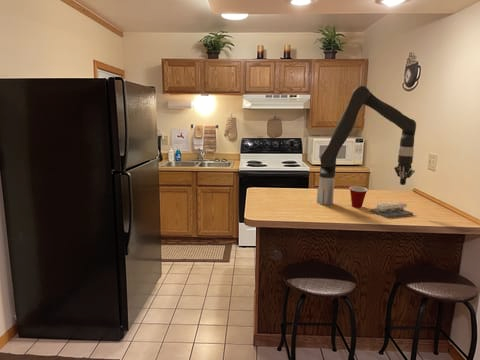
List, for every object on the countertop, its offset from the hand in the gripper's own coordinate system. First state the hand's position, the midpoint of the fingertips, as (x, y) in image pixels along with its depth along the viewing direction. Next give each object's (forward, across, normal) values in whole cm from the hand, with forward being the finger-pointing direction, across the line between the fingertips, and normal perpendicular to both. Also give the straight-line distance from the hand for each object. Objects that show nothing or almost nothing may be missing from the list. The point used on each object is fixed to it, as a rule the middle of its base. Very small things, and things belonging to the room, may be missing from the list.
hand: (402, 184), depth 194 cm
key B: (+14, 0, -6) cm, 16 cm away
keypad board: (+17, 0, -6) cm, 18 cm away
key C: (+15, 0, 0) cm, 15 cm away
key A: (+14, 0, -13) cm, 19 cm away
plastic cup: (+17, -18, -16) cm, 29 cm away
